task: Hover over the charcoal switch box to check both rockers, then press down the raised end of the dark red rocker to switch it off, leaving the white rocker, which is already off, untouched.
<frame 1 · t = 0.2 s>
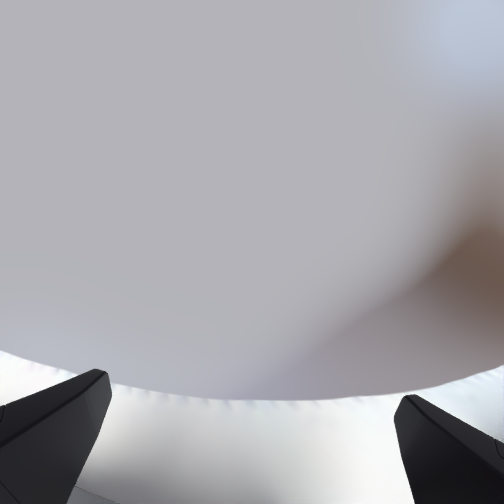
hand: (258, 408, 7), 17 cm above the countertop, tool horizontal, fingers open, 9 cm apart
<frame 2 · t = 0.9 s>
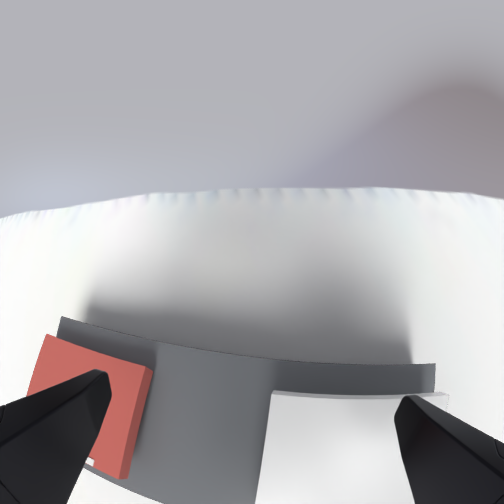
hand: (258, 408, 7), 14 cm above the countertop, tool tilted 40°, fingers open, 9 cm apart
switch box: (219, 431, 19), on the countertop
white rocker: (353, 462, 12), point 6 cm above the countertop, hinge at -10.0°
red rocker: (77, 401, 15), point 6 cm above the countertop, hinge at 10.0°
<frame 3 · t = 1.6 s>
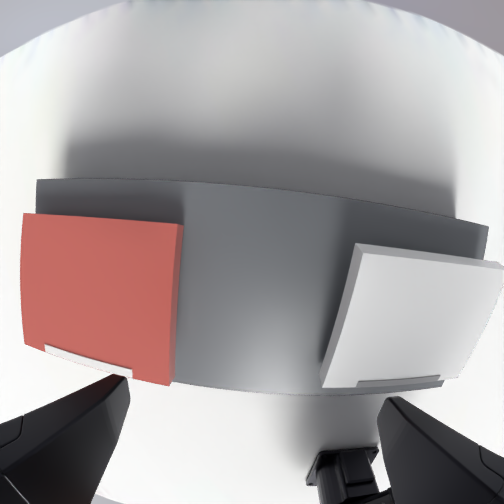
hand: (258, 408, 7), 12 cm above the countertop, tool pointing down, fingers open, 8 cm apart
switch box: (258, 281, 19), on the countertop
white rocker: (422, 326, 13), point 6 cm above the countertop, hinge at -10.0°
red rocker: (87, 293, 14), point 6 cm above the countertop, hinge at 10.0°
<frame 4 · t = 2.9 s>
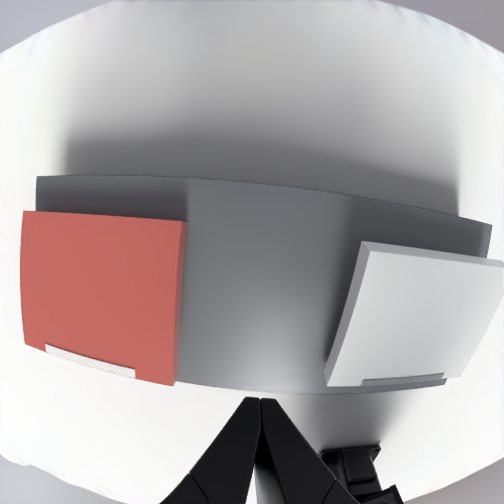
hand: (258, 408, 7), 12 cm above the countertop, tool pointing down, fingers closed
switch box: (261, 279, 19), on the countertop
white rocker: (426, 324, 13), point 6 cm above the countertop, hinge at -10.0°
red rocker: (88, 292, 13), point 6 cm above the countertop, hinge at 10.0°
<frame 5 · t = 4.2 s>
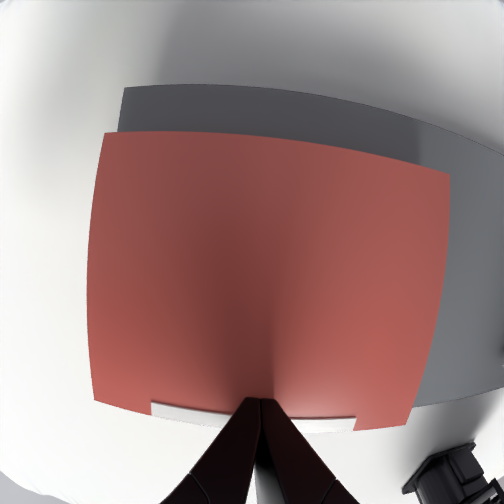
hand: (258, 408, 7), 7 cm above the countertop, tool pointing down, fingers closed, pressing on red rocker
switch box: (431, 267, 13), on the countertop
red rocker: (269, 295, 8), point 6 cm above the countertop, hinge at 10.0°, touching gripper
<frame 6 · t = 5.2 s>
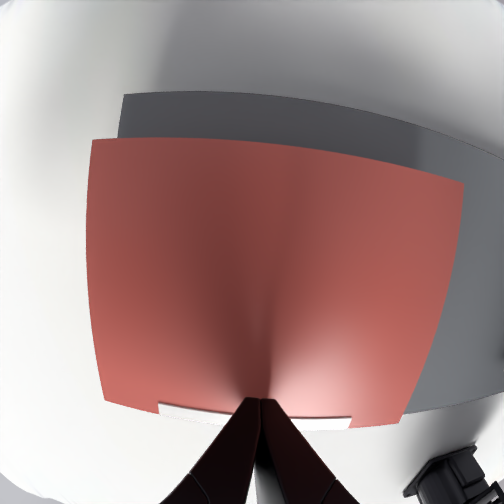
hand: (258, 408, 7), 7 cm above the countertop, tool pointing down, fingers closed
switch box: (432, 272, 13), on the countertop
red rocker: (270, 305, 8), point 6 cm above the countertop, hinge at 0.9°
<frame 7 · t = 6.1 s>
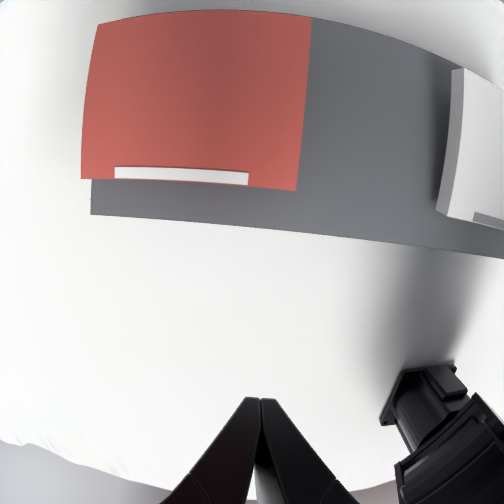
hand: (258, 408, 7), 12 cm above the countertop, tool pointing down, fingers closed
switch box: (350, 136, 17), on the countertop
red rocker: (187, 91, 11), point 6 cm above the countertop, hinge at -7.7°
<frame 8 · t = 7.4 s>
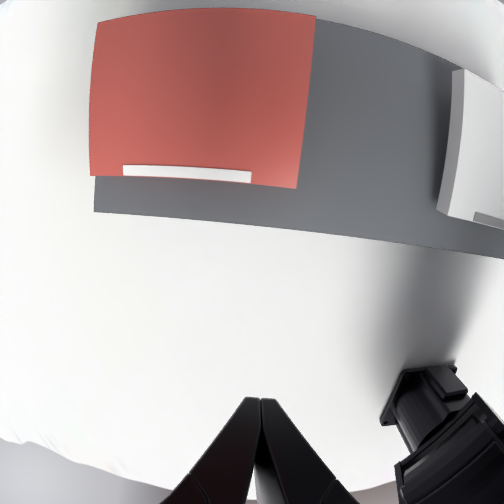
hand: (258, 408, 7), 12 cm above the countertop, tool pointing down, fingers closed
switch box: (352, 136, 17), on the countertop
red rocker: (191, 90, 11), point 6 cm above the countertop, hinge at -15.0°
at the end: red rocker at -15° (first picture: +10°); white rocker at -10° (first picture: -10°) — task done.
